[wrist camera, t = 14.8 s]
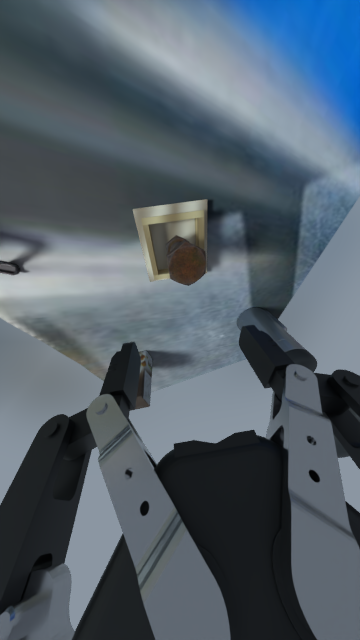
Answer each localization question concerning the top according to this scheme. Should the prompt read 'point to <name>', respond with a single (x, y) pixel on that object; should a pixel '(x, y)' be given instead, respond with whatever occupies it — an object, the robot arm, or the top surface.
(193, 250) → the bolt
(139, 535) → the robot arm
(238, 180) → the top surface
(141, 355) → the coffee box
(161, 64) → the top surface
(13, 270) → the portable electronic device stand
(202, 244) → the board
